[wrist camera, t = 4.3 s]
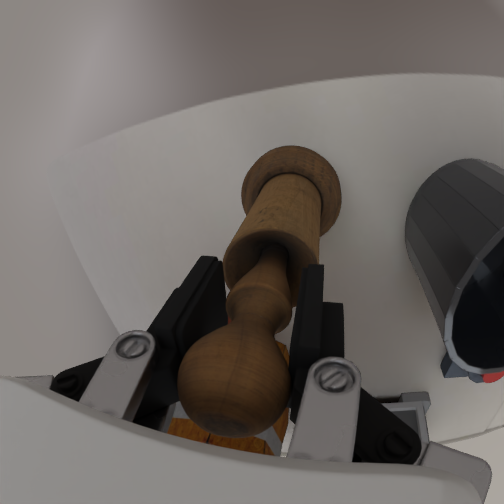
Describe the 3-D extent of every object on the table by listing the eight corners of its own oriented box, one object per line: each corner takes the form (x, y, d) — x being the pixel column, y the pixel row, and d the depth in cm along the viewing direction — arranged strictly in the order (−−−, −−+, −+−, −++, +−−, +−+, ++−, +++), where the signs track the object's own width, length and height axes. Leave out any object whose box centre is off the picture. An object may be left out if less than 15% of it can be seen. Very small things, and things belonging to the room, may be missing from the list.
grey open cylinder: (529, 170, 20) (607, 220, 10) (497, 288, 26) (543, 366, 16) (414, 148, 22) (480, 191, 12) (393, 284, 29) (418, 378, 18)
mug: (287, 402, 40) (269, 499, 27) (193, 383, 42) (156, 471, 29) (316, 291, 31) (307, 423, 18) (186, 268, 32) (114, 375, 20)
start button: (508, 350, 25) (513, 360, 24) (496, 371, 27) (500, 381, 25) (486, 352, 26) (491, 363, 24) (474, 373, 28) (478, 384, 26)
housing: (522, 315, 27) (535, 336, 23) (498, 361, 31) (507, 382, 27) (462, 316, 29) (473, 340, 25) (440, 365, 32) (446, 389, 29)
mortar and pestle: (344, 149, 20) (406, 355, 4) (335, 235, 23) (331, 484, 8) (247, 142, 21) (62, 301, 6) (248, 227, 24) (137, 445, 9)
